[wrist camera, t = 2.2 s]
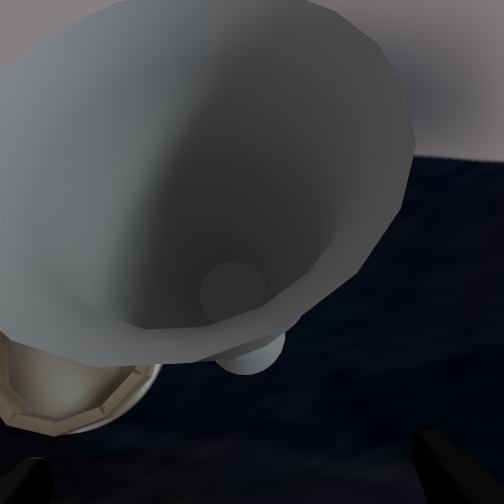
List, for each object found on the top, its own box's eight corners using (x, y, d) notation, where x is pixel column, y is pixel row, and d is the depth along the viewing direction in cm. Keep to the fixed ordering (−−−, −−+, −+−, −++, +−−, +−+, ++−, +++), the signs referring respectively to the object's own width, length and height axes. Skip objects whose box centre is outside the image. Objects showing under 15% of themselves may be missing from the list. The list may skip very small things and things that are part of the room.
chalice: (249, 260, 24) (210, -57, 7) (323, 330, 22) (512, 107, 5) (168, 335, 22) (-139, 141, 5) (241, 419, 20) (110, 533, 3)
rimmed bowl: (71, 476, 19) (46, 486, 17) (-28, 349, 22) (-59, 344, 20) (202, 330, 22) (195, 323, 20) (99, 236, 25) (84, 221, 23)
